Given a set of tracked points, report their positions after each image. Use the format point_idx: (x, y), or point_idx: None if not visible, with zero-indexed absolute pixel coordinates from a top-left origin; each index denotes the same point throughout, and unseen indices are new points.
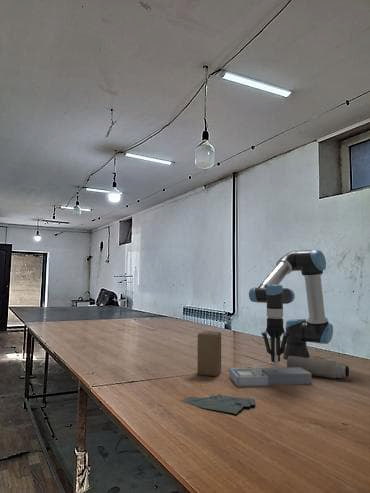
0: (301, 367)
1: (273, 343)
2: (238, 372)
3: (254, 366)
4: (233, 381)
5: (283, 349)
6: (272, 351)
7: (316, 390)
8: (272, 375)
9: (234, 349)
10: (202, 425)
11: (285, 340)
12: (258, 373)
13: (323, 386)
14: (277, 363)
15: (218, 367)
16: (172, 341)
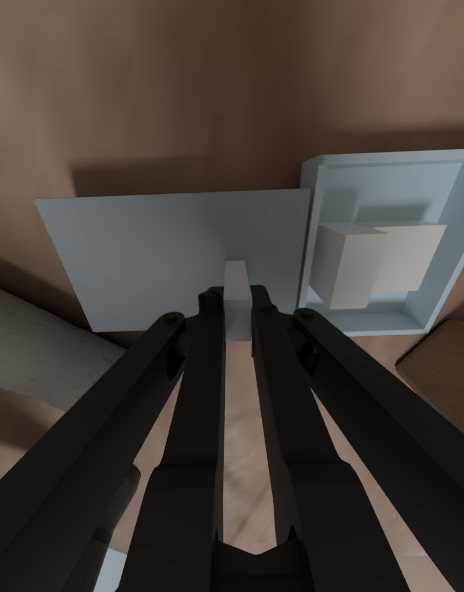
0: (90, 346)
1: (290, 397)
2: (421, 277)
3: (369, 275)
4: None
5: (153, 337)
6: (280, 320)
7: (54, 43)
8: (282, 189)
9: (246, 519)
10: None
11: (43, 459)
12: (350, 227)
13: (14, 144)
14: (229, 274)
15: (453, 354)
16: None
